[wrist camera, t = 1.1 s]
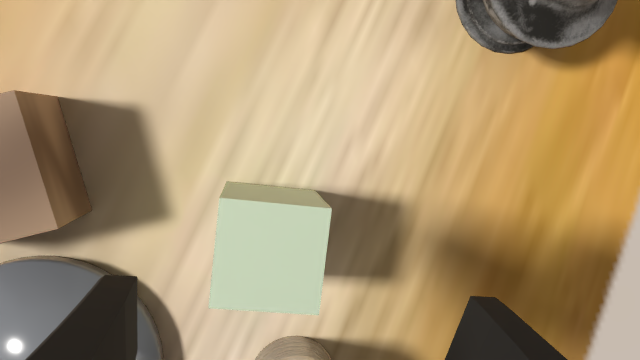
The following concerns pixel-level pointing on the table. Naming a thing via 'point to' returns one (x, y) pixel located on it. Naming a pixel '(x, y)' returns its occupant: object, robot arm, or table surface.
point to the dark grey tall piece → (532, 22)
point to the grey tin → (293, 350)
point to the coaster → (54, 304)
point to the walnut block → (37, 167)
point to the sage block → (269, 249)
